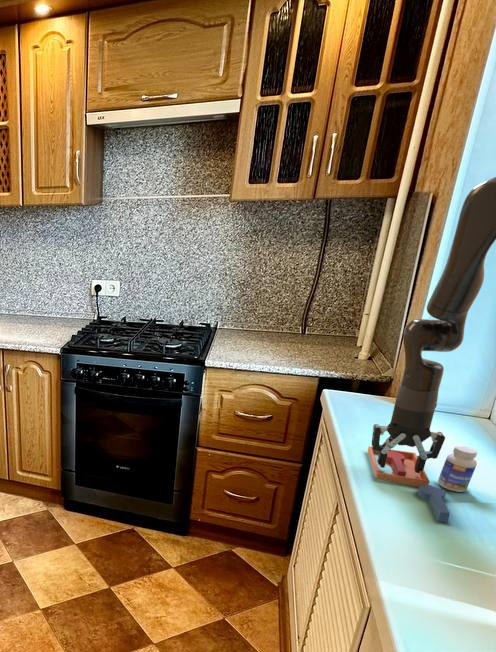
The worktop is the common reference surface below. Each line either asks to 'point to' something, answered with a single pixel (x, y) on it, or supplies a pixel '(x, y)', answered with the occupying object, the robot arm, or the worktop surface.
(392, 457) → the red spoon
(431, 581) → the worktop surface
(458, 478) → the pill bottle
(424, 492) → the blue spoon
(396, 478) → the tray
